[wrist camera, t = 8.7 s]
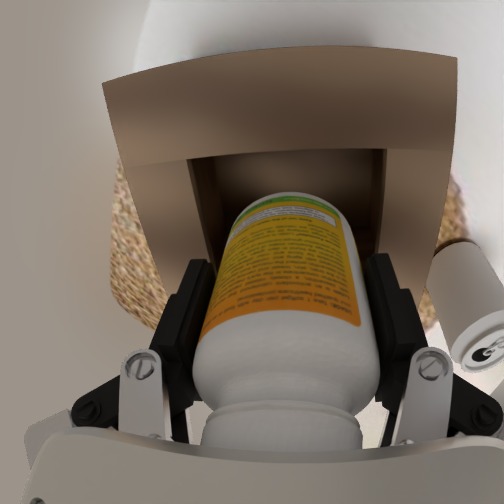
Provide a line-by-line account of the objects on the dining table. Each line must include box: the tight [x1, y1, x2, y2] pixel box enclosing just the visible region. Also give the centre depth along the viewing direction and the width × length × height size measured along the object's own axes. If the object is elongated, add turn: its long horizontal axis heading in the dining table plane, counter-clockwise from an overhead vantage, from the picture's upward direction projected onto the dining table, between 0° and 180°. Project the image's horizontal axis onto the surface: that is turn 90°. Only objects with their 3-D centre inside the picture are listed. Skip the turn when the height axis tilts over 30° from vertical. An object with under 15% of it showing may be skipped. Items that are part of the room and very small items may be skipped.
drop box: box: [102, 46, 457, 311], centre depth 19 cm, size 16×14×13 cm
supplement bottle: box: [193, 192, 380, 452], centre depth 10 cm, size 5×5×10 cm
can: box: [426, 242, 504, 373], centre depth 25 cm, size 8×8×12 cm
